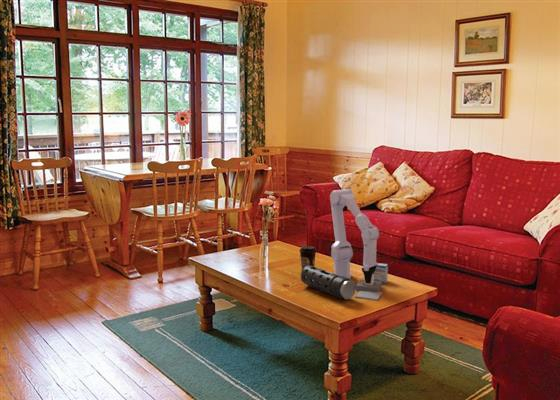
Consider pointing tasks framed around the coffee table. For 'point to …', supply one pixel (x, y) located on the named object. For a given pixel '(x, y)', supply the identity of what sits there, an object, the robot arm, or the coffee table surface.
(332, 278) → the muzzle brake
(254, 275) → the coffee table surface
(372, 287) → the socket block
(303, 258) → the coffee cup
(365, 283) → the plug
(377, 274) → the medicine box
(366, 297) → the rubber pad
